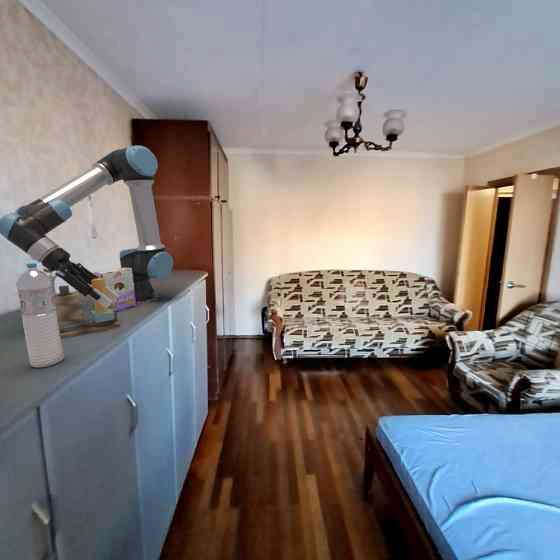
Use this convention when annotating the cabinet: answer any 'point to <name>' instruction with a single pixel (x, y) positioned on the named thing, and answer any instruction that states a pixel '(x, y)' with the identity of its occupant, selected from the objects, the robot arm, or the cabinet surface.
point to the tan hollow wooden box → (69, 308)
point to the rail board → (83, 331)
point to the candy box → (120, 287)
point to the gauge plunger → (64, 290)
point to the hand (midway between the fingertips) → (112, 301)
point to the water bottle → (39, 317)
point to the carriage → (100, 311)
